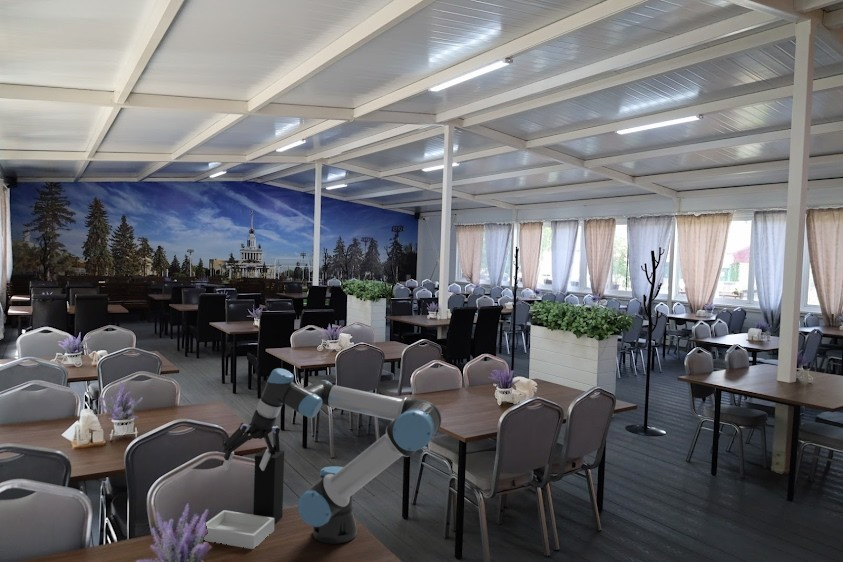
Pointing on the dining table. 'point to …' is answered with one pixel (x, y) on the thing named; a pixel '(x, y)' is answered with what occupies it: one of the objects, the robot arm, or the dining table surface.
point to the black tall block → (269, 486)
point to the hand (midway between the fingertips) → (243, 468)
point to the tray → (239, 529)
